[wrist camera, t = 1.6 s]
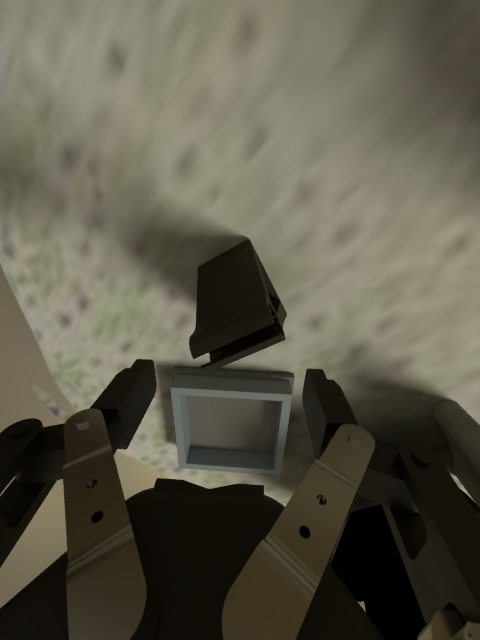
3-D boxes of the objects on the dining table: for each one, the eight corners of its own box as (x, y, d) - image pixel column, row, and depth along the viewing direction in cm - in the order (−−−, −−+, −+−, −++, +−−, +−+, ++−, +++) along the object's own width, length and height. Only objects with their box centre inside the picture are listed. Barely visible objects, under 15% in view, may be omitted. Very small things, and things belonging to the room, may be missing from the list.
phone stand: (198, 265, 26) (158, 308, 16) (249, 238, 25) (244, 264, 14) (239, 334, 30) (228, 410, 19) (286, 313, 28) (305, 382, 17)
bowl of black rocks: (417, 398, 32) (602, 623, 15) (452, 490, 38) (608, 718, 21) (274, 447, 37) (289, 656, 20) (327, 520, 44) (372, 724, 27)
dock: (293, 373, 31) (297, 391, 28) (282, 456, 38) (284, 478, 35) (174, 366, 32) (165, 383, 29) (182, 449, 38) (176, 470, 35)
